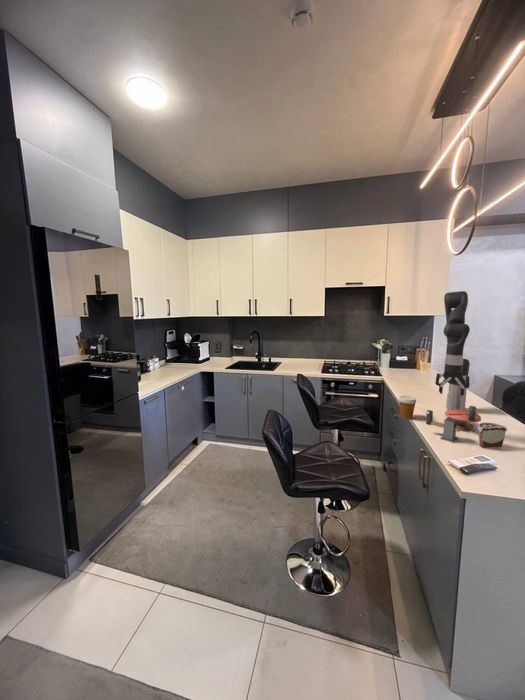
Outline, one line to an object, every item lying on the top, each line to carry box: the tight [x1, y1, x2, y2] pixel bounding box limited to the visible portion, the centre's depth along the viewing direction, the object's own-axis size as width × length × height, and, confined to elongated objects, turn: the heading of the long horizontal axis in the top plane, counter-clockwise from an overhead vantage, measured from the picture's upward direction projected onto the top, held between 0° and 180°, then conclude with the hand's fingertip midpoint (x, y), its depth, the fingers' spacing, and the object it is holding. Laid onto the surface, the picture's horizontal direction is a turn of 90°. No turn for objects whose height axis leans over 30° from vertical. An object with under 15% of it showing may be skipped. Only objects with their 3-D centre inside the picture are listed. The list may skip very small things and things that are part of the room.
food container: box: [477, 422, 508, 449], centre depth 136 cm, size 12×6×10 cm, turn 92°
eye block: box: [440, 416, 459, 443], centre depth 142 cm, size 6×6×10 cm
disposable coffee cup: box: [398, 395, 417, 420], centre depth 171 cm, size 10×10×12 cm
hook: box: [425, 409, 461, 433], centre depth 144 cm, size 15×3×7 cm, turn 42°
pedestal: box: [456, 420, 475, 432], centre depth 156 cm, size 11×11×2 cm
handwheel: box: [444, 405, 482, 425], centre depth 155 cm, size 16×16×12 cm
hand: (451, 394), depth 146 cm, fingers open, 8 cm apart
